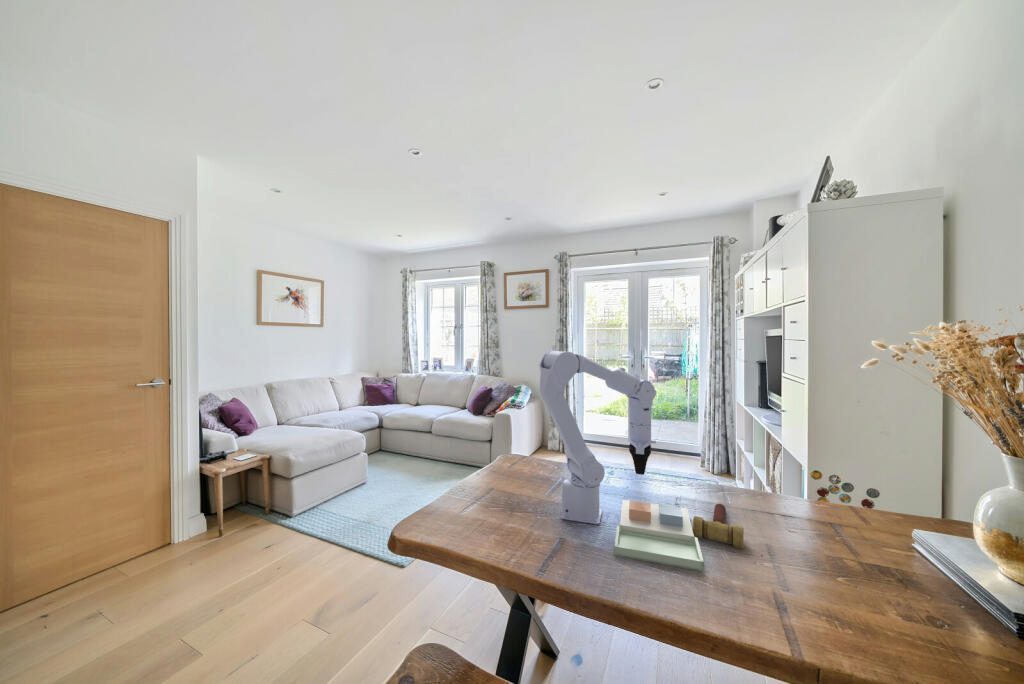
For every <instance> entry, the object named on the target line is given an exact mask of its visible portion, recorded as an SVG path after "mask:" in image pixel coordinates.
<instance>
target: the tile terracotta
mask: <svg viewBox="0 0 1024 684" xmlns="http://www.w3.org/2000/svg"><path fill="white" fill-rule="evenodd" d="M629 501H630V503H629V519H631V520H637V521H644V522H651V505H650V504H651V503H650V502H646V501H645V502H644V501H638V500H637V501H636V500H629Z"/></svg>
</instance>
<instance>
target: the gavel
mask: <svg viewBox="0 0 1024 684" xmlns="http://www.w3.org/2000/svg"><path fill="white" fill-rule="evenodd" d="M726 511H727V510H726V507H725V505H723V503H721V502H720V503H717V504H715V505H714V510H713V515H712V516H713V518H712V520H705V519H704V517H701V516H697V515H694V516H693V520H692V530H693V534H694V537H696V538H698V539H701V540H702V539H703V538H706V539H707V540H711V541H714V542H719V543H723V544H726V545H727V544H729V545H732V547H734V548H736V547H737V549H740V548H741V549H740V550H743V549H744V527H743V526H740V525H737V524H733V525H732V526H731V525H728V524H726Z"/></svg>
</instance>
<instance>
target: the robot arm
mask: <svg viewBox="0 0 1024 684" xmlns="http://www.w3.org/2000/svg"><path fill="white" fill-rule="evenodd" d="M538 365H539V371H540V373H539V374H540V376H539V392H540V395H541V397H542V400H543V401H544V404H545V406H546V408H547V410H548V413H549V415H550V417H551V420H552V422H553V424H554V426H555V428H556V431H557V433H558V434H559V437H560V439H561V442H562V443H563V445H564V448H565V450H566V451H565V452H564V455H565V458H566V466H567V468H566V469H568V471H569V473H571V474H570V477H571V478H566V479H563V483H562V487H561V489H562V491H561V493H562V494H561V513H562V514H561V520H567V521H575V522H580V523H585V524H593V525H600V523H601V517H602V513H603V509H602V508H600V486H601V483H602V482H603V481H604V478H605V468H604V466H603V464H602V463H601V462H599V460H597V458H596V456H595V454H594V453H593V451H591V450H590V448H588V446H587V444H586V441H585V440H584V437H583V435H582V433H581V431H580V428H579V426H578V424H577V422H576V419H575V417H574V415H573V412H572V410H571V408H570V406H569V404H568V402H567V399H566V397H565V395H564V390H565V388H566V386H567V385H568V383H569V382H570V381H571V380H572V378H574V376H575V375H576V374H582V373H584V374H585V373H586V374H588V375H590V376H591V377H596V378H597V379H600V380H603V381H604V382H605V385H606V387H607V388H609V389H611V390H614V391H616V392H618V393H620V394H623V395H625V396H626V397H627V398H628V438H627V441H628V442H629V448H628V450H629V453H630V455H631V458H632V462H633V465H634V466H633V467H634V471H635V474H636V475H641V476H643V475H645V473H646V469H647V467H646V466H647V464H648V463H647V462H648V459H649V457H650V456H651V453H652V449H651V448H652V444H656V443H657V441H656V438H652V407H653V404H654V403H653V401H654V400H655V398H656V395H657V390H656V388H655V385H654V384H653V383H652V382H651V381H650V380H646V379H642V378H640V376H639V375H638V374H635V373H634V374H632V373H630V372H627V371H626V369H625V368H624V367H621V366H619V367H613V368H607V367H605V366H604V365H602V364H600V363H598V362H597V361H593V360H592V359H589V358H587V357H586V356H584V355H581V354H577V353H573V352H571V351H559V350H556V349H554V350H553V349H552V350H548V351H546V352H545V354H543V356H542V358H541V360H540V362H539V364H538Z"/></svg>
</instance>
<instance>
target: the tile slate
mask: <svg viewBox="0 0 1024 684" xmlns="http://www.w3.org/2000/svg"><path fill="white" fill-rule="evenodd" d="M658 505H659V521H660V524H664V525H671V526H677V527H683V516H682V511H681V508H682V507H681V506H674V505H666V504H660V503H659V504H658Z"/></svg>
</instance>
